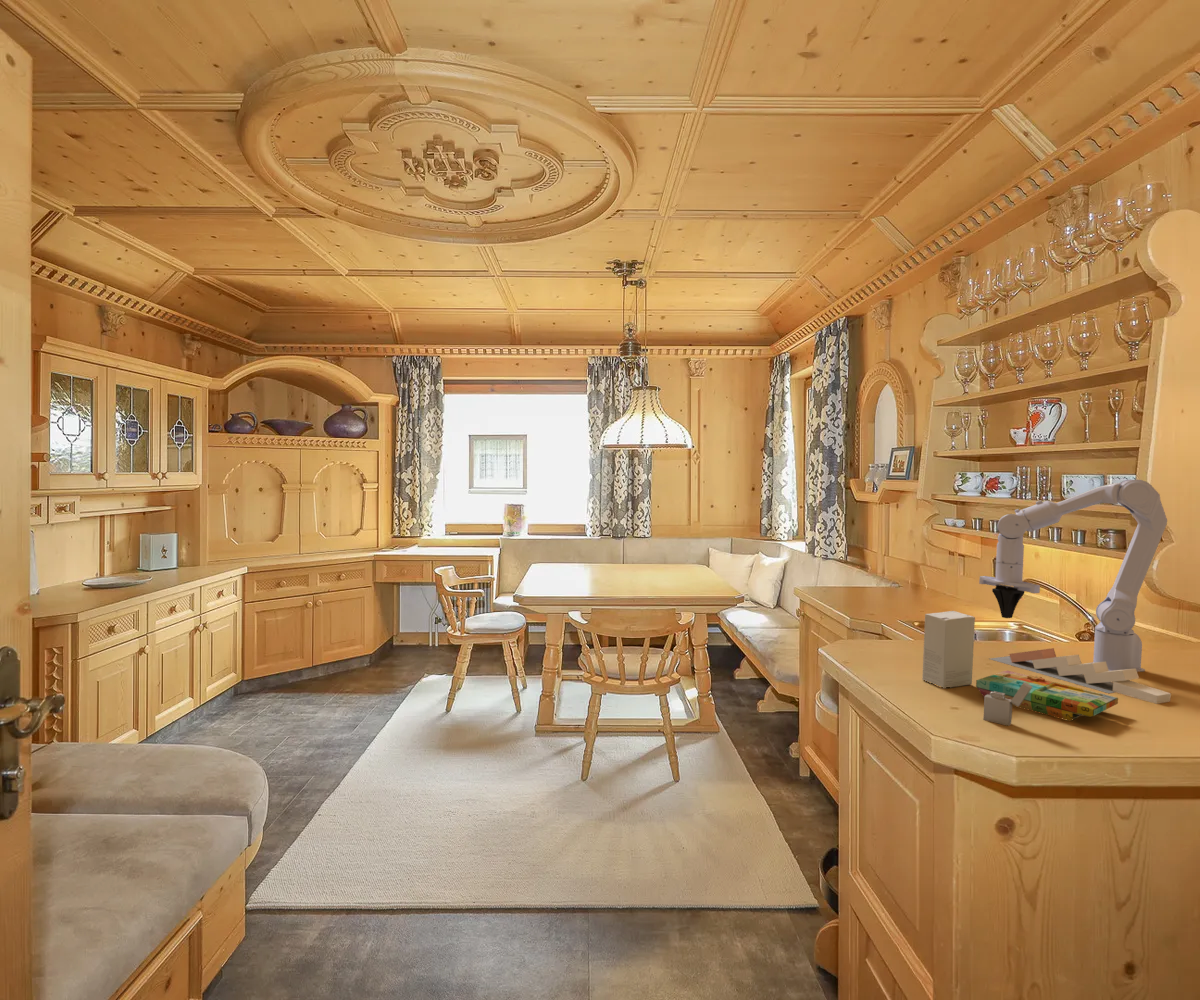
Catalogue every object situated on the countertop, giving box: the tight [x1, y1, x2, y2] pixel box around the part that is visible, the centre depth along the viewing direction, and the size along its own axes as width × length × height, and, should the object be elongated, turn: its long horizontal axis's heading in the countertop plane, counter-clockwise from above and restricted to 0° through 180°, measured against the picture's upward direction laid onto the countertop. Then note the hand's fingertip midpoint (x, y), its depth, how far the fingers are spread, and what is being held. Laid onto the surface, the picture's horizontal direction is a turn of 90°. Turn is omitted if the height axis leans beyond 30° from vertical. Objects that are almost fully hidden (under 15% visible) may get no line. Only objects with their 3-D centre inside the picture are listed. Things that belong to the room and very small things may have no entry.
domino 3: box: [1057, 662, 1109, 676], centre depth 149 cm, size 4×2×8 cm
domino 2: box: [1032, 654, 1083, 669], centre depth 154 cm, size 4×2×8 cm
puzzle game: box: [975, 670, 1119, 721], centre depth 132 cm, size 12×5×20 cm
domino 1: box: [1008, 647, 1057, 662], centre depth 159 cm, size 4×2×8 cm
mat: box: [989, 655, 1116, 695], centre depth 154 cm, size 9×27×1 cm, turn 23°
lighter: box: [982, 682, 1032, 727], centre depth 122 cm, size 7×2×8 cm, turn 46°
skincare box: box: [921, 610, 976, 689], centre depth 145 cm, size 8×6×15 cm
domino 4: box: [1084, 668, 1140, 684], centre depth 143 cm, size 4×2×8 cm
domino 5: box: [1112, 680, 1172, 705], centre depth 138 cm, size 4×2×8 cm
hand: (1006, 617), depth 169 cm, fingers closed
